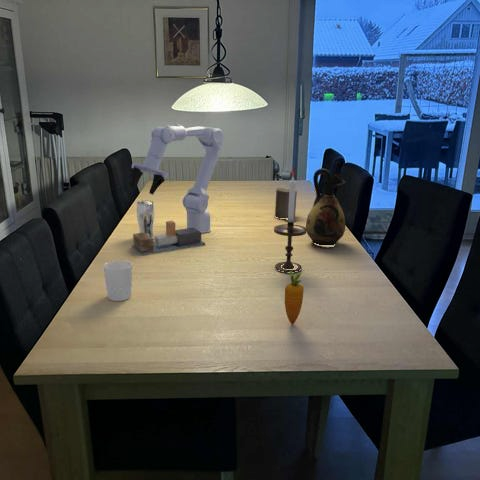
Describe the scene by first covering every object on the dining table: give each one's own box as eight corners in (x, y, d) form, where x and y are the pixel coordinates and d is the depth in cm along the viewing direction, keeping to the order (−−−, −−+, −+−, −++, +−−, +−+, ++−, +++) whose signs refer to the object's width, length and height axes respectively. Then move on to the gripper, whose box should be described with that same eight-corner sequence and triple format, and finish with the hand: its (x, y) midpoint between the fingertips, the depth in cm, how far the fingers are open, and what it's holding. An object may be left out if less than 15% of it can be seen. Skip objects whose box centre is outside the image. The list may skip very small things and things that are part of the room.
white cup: (138, 293, 150) (136, 262, 147) (124, 304, 143) (122, 271, 140) (115, 289, 153) (113, 258, 150) (100, 299, 146) (98, 267, 143)
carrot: (281, 320, 136) (284, 267, 131) (299, 319, 136) (302, 267, 132) (284, 328, 131) (287, 274, 126) (303, 328, 131) (306, 274, 127)
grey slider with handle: (192, 237, 201) (192, 217, 198) (196, 239, 198) (196, 220, 195) (154, 242, 193) (153, 222, 190) (158, 245, 189) (158, 225, 187)
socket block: (144, 243, 193) (144, 232, 192) (153, 250, 186) (153, 238, 185) (133, 245, 191) (133, 234, 190) (142, 252, 184) (141, 240, 182)
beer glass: (151, 241, 199) (150, 204, 194) (134, 240, 200) (133, 203, 195) (157, 236, 205) (156, 200, 201) (141, 235, 206) (140, 199, 202)
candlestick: (283, 276, 166) (288, 171, 156) (266, 266, 175) (270, 165, 165) (310, 271, 171) (317, 169, 160) (292, 261, 180) (298, 164, 170)
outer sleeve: (192, 237, 205) (192, 225, 204) (205, 245, 196) (205, 232, 195) (131, 247, 192) (130, 234, 190) (142, 255, 183) (141, 242, 182)
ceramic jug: (347, 242, 204) (354, 168, 195) (338, 252, 190) (344, 174, 181) (307, 236, 211) (312, 164, 202) (295, 246, 197) (300, 170, 188)
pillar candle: (272, 218, 236) (273, 187, 231) (278, 214, 245) (280, 183, 240) (291, 221, 233) (294, 189, 228) (297, 216, 241) (299, 185, 237)
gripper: (133, 149, 187) (120, 183, 186) (167, 159, 183) (154, 193, 182) (141, 154, 194) (129, 187, 193) (174, 164, 190) (162, 198, 189)
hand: (142, 191), depth 188 cm, fingers open, 7 cm apart
